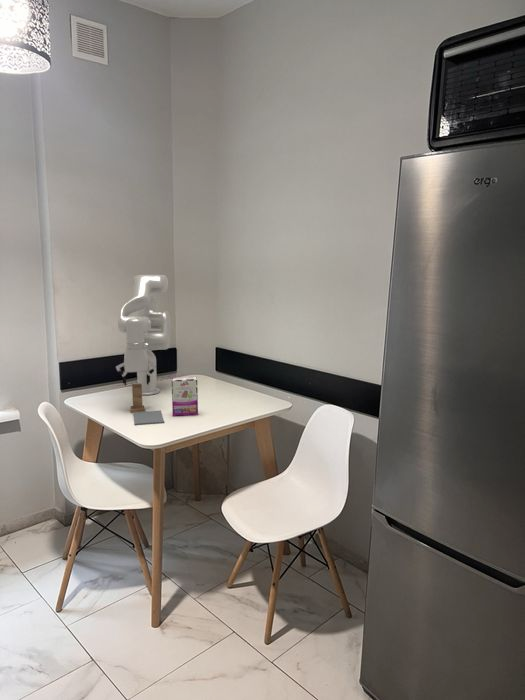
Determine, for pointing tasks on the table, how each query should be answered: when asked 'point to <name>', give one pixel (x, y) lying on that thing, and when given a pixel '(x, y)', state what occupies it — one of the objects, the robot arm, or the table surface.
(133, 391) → the stepped wooden block
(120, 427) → the table surface
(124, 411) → the table surface
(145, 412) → the mat
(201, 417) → the table surface
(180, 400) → the candy bar box
